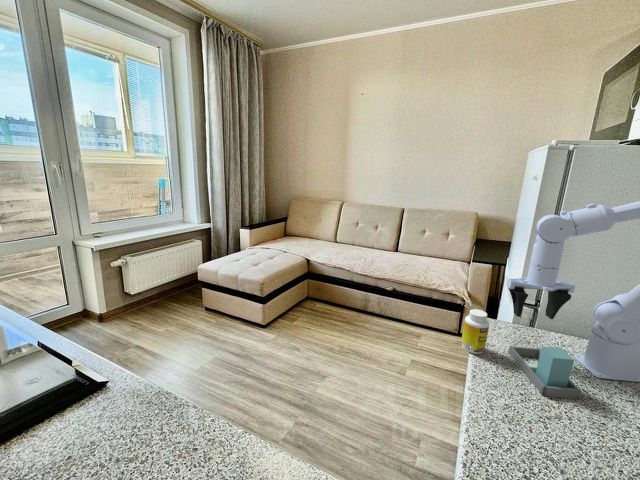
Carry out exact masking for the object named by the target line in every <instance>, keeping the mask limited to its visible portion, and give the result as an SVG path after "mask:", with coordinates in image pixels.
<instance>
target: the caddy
mask: <svg viewBox="0 0 640 480" xmlns="http://www.w3.org/2000/svg"><path fill="white" fill-rule="evenodd" d="M540 352H541V348H537V347H536V348H535V347H524V346H514V345H513V346H511V345H510V346H509V349H508V354H509V355H510V357H511V358H512V359H513V362H515V363H516V364H517V365H518V367H519V368H520V369H521V371H522V372H523V373H524V374H525V376H526V377H527V378H528V379H529V381H530V382H531V383H532V384H533V386H534V387H535V388H536V389H537V391H538V392H539V393H540V394H541V396H543V397H553V398H566V399H572V400H573V399H574V400H575V399H576V400H579V399H580V396H581V393H582V390H581V389H580V388H579V387H578V386H577V385H576V384H575V383H574V382H573V381H572V380H571V379H570V378H569V381H568V385H567V388H562V387H552V386H545V385H544V384H543V382H542V381H541V380H540V379H539V378H538V377H537V375H536V374H535V373H536V369H537V365H538V363H533V362H531V363H530V362H526V361H525V360H524V358H522V356H523V357H536V358H537V359H539V356H540Z"/></svg>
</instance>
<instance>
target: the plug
mask: <svg viewBox="0 0 640 480" xmlns="http://www.w3.org/2000/svg"><path fill="white" fill-rule="evenodd" d="M540 349H541V352H540V356H539V358H538V362H537V364H538V365H537V369H536V373H535V374H536V375H537V377H538V378H539V379H540V380H541V381H542V382H543V384H544V385H545V386H552V387H562V388H567V385H568V381H569V379H570V377H571V374H572V370H573V367H574V366H573V365H574V363H575V358H573V357H572V356H571V355H569V353H568V352H566V351H565V350H564V348H562V347H553V346H552V347H549V346H541V348H540Z"/></svg>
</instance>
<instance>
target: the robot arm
mask: <svg viewBox="0 0 640 480" xmlns="http://www.w3.org/2000/svg"><path fill="white" fill-rule="evenodd" d="M585 206H586V207H585V208H580V209H576V210H571V211H566V210H562V211H559V214H558V215H557V214H547V215H544V216H542V217H541V218H540V219H539V220H538V221H537V223H536V224H535V231H536V232H537V234H536V238H535V239H534V240H535V241H534V242H535V243H534V244H533V248H532V253H531V257H530V262H529V265H528V266H529V267H528V272H527V275H526V277H518V278H507V280H506V286H505V287H506V288H508V291H509V293H510V294H509V295H510V296H511V300H512V306H513V307H512V308H513V314H514V315H515V316H516V317H521V316H522V314H523V309H524V305H525V303H526V300H527V299H528V297H529V294H528V293H527V292H526V290H538V291H539V290H540V291H546V292H547V305H546V307H545V316H546V317H548V319H550V320H554V318H555V317H556V315H557V314H558V312H559V311H560V309H562V307H563V306H564V305H565V304H566V303H567V302H569V301H570V300H571V299H572V293H574V292H575V287H576V285H575V284H573V283H571V282H570V281H569V282H567V281H561V280H560V281H559V280H557V278H558V274H559V271H560V270H559V269H560V266H561V262H562V258H563V253H564V245H565V241H567V240H568V239H569V237H573V238H574V237H577V236H578V237H579V236H583V235H588V234H594V233H599V232H605V231H609V230H611V229H612V227H614V225H616V223H621V222H627V221H634V220H639V219H640V200H638V201H634V202H631V203H630V202H629V203H627V204H622V205H619V206H614V207H608V206H606V205H604V204H598V205H596V204H595V203H590V204H586V205H585ZM570 293H571V294H570ZM593 317H594V319H595V320H596V323H595V324H593V326H592V327H591V331H590V335H589V339H588V342H587V345H586V350H585V353H584V355H579V354H578V355H577V354H574V355H573V357H574V358H573V359H574V360H575V359H576V360H577V361H578V362H579V363H580V364H581V365H582V366H583V367H584V368H586V369H587V370H588V371H589V372H590V373H591V374H592V375H593V376H594V377H596V378H597V379H606V380H615V381H626V382H637V383H640V283H639V284H638V285H637V286H634V287H633V288H632V289H631V290H630V291H628V292H627V293H623V294H622V293H621V294H616V295H615V296H614V297H612V298H611V299H608V300H606V301H605V300H604V301H602V302H599V303H598V304H596V306H595V307H594V308H593Z"/></svg>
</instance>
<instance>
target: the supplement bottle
mask: <svg viewBox="0 0 640 480" xmlns="http://www.w3.org/2000/svg"><path fill="white" fill-rule="evenodd" d="M489 329H490V322H489V321H488V313H487V312H486V311H484V310H482V309H477V308H474V309H470V310H469V314H468V315H466V317H465V318H464V323H463V329H462V335H461V339H460V340H461V341H460V345H461V347H462V349H463V350H465V351H466V352H469V353H470V354H475V355H479V354H483V353H484V352H485V349H486V344H487V339H488V334H489ZM470 346H471V348H470Z"/></svg>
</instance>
